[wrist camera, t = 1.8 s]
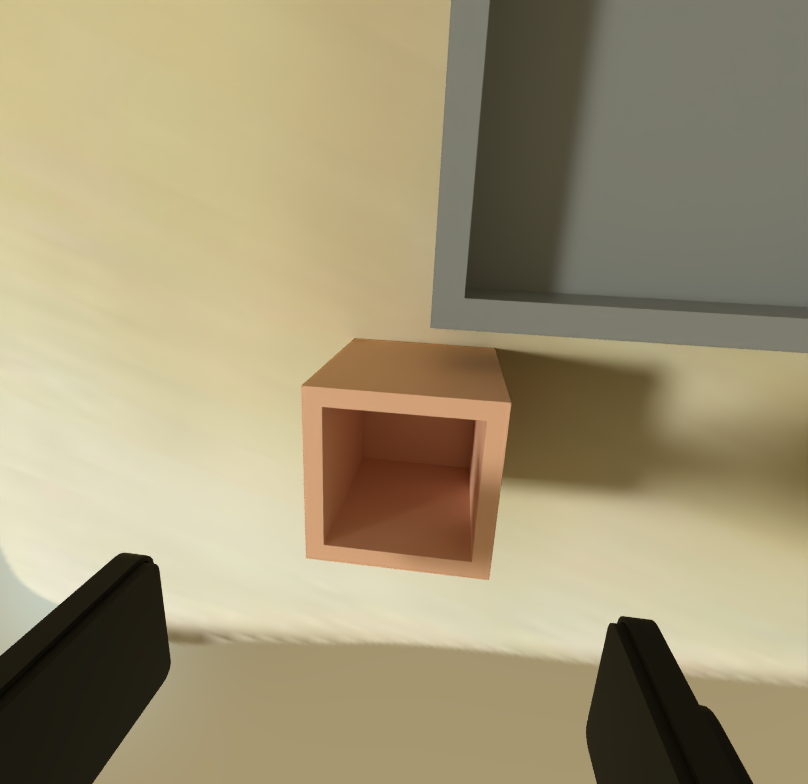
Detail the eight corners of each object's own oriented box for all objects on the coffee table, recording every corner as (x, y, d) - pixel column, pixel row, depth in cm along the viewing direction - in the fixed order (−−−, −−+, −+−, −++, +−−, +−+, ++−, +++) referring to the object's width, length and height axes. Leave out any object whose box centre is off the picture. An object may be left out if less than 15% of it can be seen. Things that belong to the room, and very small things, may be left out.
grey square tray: (476, -267, 14) (482, -498, 9) (1136, -309, 12) (1510, -615, 8) (437, 308, 19) (430, 327, 15) (888, 336, 17) (1027, 367, 13)
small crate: (354, 338, 20) (301, 385, 13) (494, 347, 19) (511, 402, 13) (353, 462, 22) (306, 558, 15) (480, 474, 21) (488, 579, 15)
